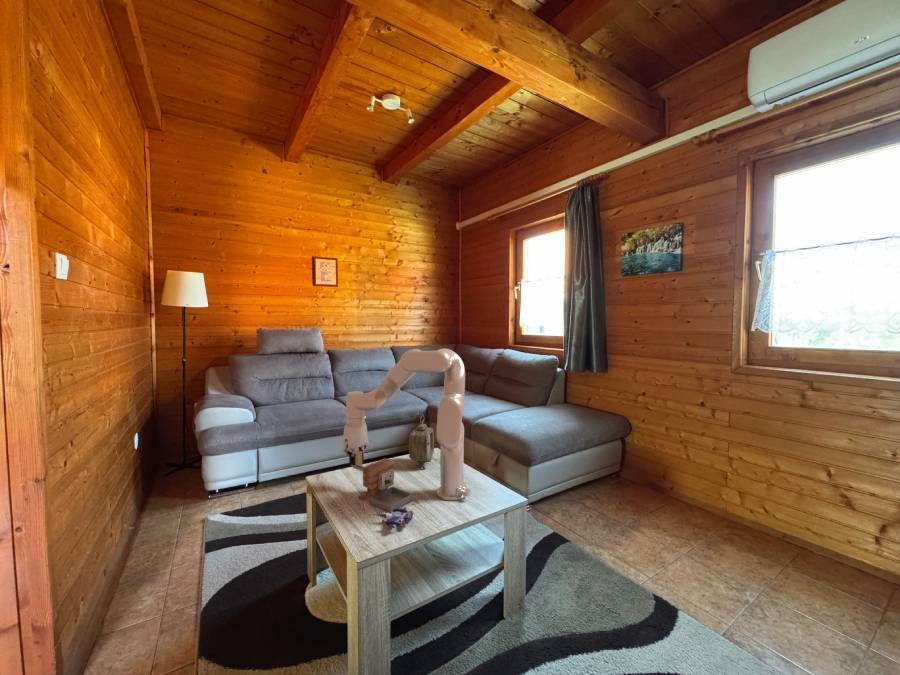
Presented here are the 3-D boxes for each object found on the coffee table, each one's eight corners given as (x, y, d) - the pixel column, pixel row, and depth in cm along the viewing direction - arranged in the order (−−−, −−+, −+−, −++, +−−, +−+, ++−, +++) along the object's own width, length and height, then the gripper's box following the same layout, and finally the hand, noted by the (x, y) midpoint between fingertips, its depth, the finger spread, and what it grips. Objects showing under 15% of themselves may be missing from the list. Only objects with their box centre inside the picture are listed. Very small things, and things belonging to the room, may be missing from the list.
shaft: (392, 479, 145) (392, 461, 145) (385, 482, 142) (385, 464, 142) (357, 466, 158) (357, 449, 158) (351, 469, 155) (350, 452, 155)
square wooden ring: (393, 484, 146) (393, 469, 146) (382, 490, 142) (382, 475, 141) (391, 483, 147) (390, 469, 147) (379, 489, 143) (379, 474, 142)
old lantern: (426, 471, 172) (426, 419, 171) (408, 469, 174) (408, 418, 173) (434, 459, 186) (433, 411, 185) (417, 458, 188) (416, 410, 187)
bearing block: (394, 492, 151) (393, 460, 150) (371, 504, 141) (371, 470, 141) (380, 487, 156) (379, 456, 155) (357, 498, 146) (357, 465, 146)
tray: (413, 500, 144) (413, 494, 144) (390, 513, 135) (390, 506, 135) (392, 492, 152) (392, 486, 151) (369, 503, 142) (369, 497, 142)
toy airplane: (368, 521, 130) (368, 511, 130) (404, 510, 137) (404, 501, 137) (381, 539, 119) (381, 529, 119) (419, 527, 126) (419, 517, 126)
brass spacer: (391, 483, 147) (390, 469, 147) (379, 489, 143) (379, 474, 142) (388, 482, 148) (388, 468, 148) (377, 488, 143) (377, 473, 143)
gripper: (365, 415, 164) (366, 455, 164) (333, 423, 150) (334, 467, 151) (376, 417, 159) (377, 459, 160) (345, 426, 146) (346, 471, 147)
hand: (356, 462), depth 156 cm, fingers closed on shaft, 3 cm apart
